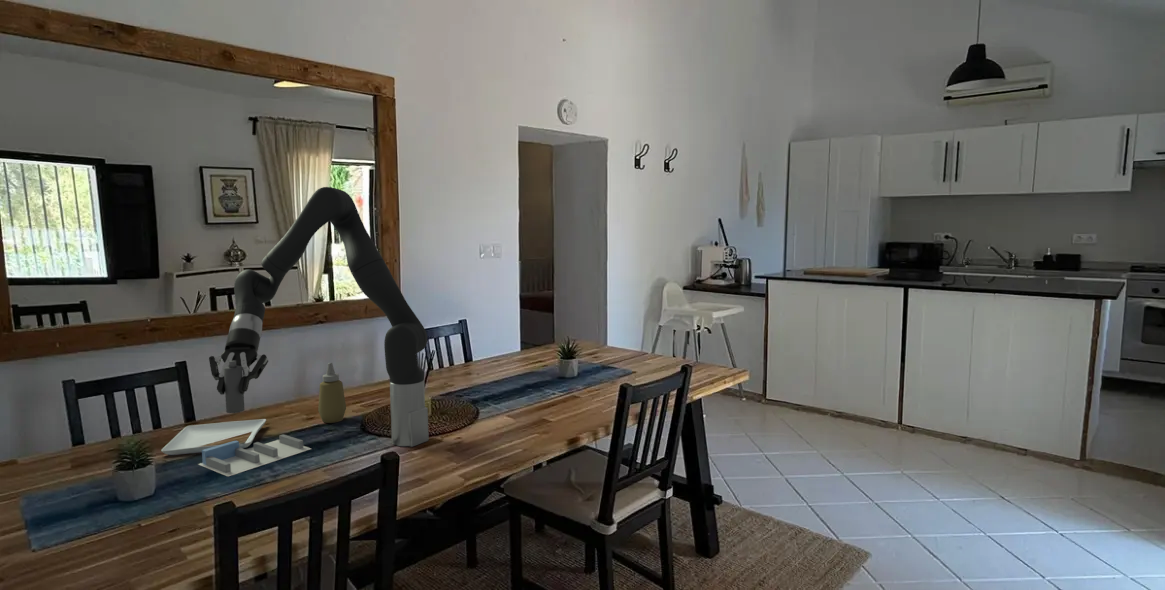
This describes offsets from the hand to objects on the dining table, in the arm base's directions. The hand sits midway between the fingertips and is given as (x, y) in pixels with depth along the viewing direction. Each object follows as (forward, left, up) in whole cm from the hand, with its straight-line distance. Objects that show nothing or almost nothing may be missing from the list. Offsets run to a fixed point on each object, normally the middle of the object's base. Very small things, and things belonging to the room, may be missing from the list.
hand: (231, 392), depth 156 cm
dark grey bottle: (+1, -1, -5) cm, 6 cm away
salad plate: (+22, -7, -20) cm, 30 cm away
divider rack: (+1, -6, -19) cm, 20 cm away
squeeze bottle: (+13, -37, -19) cm, 43 cm away
